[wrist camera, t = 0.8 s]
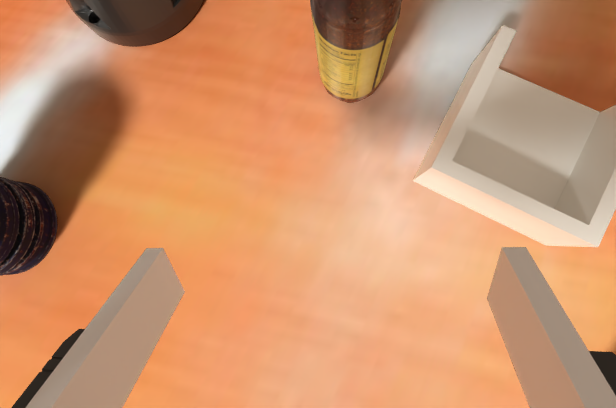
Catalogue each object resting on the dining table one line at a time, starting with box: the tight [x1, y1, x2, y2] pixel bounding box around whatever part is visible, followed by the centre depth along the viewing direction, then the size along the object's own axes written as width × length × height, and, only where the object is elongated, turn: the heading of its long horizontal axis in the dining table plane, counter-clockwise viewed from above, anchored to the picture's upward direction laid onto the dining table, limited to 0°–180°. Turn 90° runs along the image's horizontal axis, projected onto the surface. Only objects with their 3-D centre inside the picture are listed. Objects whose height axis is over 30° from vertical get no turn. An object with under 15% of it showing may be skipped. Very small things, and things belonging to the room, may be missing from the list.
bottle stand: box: [413, 25, 616, 247], centre depth 28 cm, size 13×13×6 cm
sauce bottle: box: [310, 0, 402, 103], centre depth 23 cm, size 6×6×20 cm
